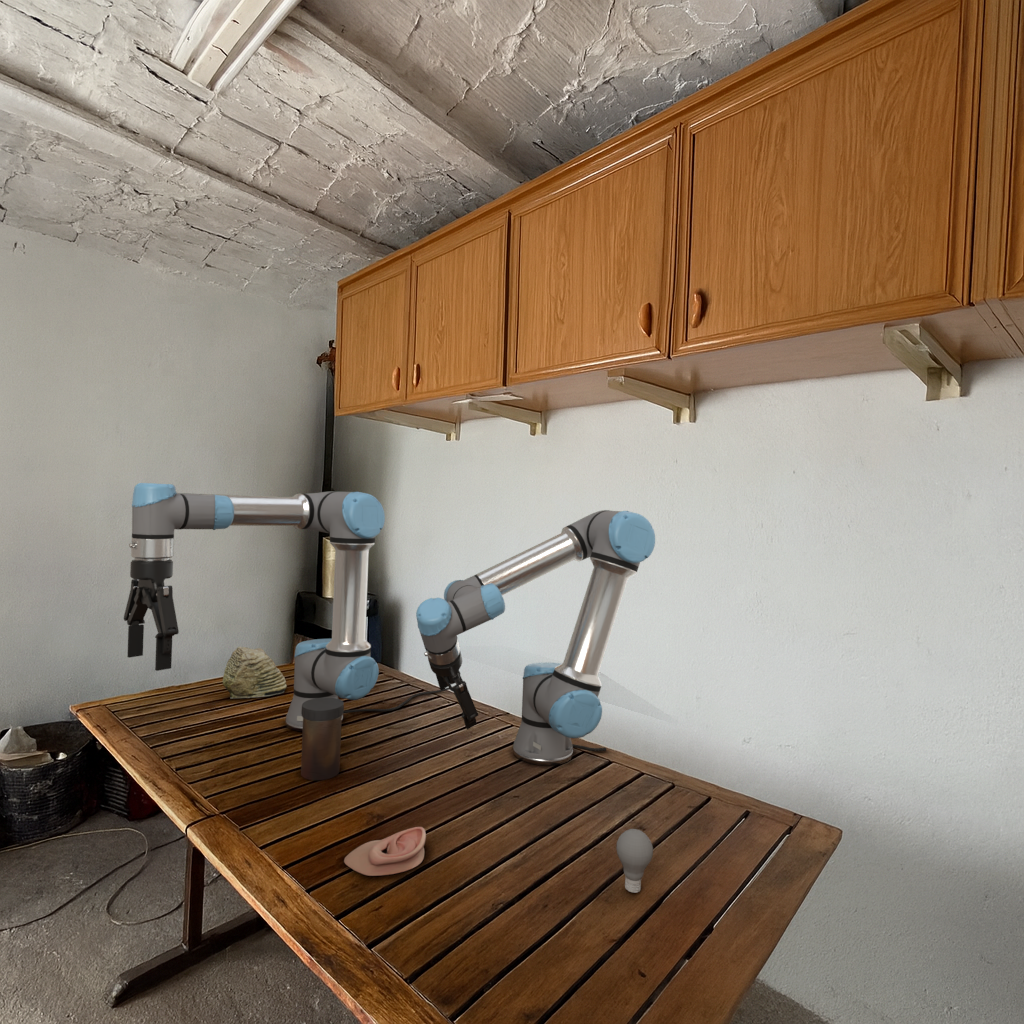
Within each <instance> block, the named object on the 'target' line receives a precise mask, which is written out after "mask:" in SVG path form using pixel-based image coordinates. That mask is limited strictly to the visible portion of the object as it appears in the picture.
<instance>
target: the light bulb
mask: <svg viewBox="0 0 1024 1024" xmlns="http://www.w3.org/2000/svg"><path fill="white" fill-rule="evenodd" d="M615 849H616V854H617V857H618V859H619V861H620V863H621V865H622V867H623V873H624V874H623V875H624V876H625V878H624V888H625V890H627V891H628V892H630V893H634V894H635V893H639V892H640V891H641V889H642V887H641V886H642V879H643V877H644V875H645V871H646V868H647V867H648V866H649V864H650V863H651V861H652V859H653V855H654V847H653V843H652V841H651V838H649V836H648V835H647V834H646V833H645V832H643V831H642V830H641V829H636V828H629V829H627V830H625V831H623V832H622V833H621V834H620V835H619V837H618V839H617V841H616V847H615Z"/></svg>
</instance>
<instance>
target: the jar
mask: <svg viewBox="0 0 1024 1024" xmlns="http://www.w3.org/2000/svg"><path fill="white" fill-rule="evenodd" d="M341 720H342V716H340V717H338V718H336V719H332V720H326V721H313V720H307V719H305V718H303V732H301V734H302V735H301V737H302V738H301V739H302V740H301V760H300V761H301V763H300V776H301V777H302V778H303V779H306V780H309V781H325V780H330V779H332V778H334V777H336V776H337V775H339V773H340V769H341V744H342V723H341Z"/></svg>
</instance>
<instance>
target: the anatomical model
mask: <svg viewBox="0 0 1024 1024" xmlns="http://www.w3.org/2000/svg"><path fill="white" fill-rule="evenodd" d="M426 839H427V834H426V829H425V827H423V826H415V827H411V828H407V829H404V830H401V831H398V832H396V833H394V834H392V835H389V836H387V837H385V838H383V839H376V840H370V841H368V842H365V843H363V844H361V845H359V846H357V847H356V848H355V849H353V850H352V851H350V852H349V853H348V854H347V855H346V856H345V857H344V859H343V863H344V865H346V866H347V867H348V868H350V869H352V870H353V871H355V872H356V873H359V874H361V875H364V876H369V877H377V876H389V875H394V874H395V875H396V874H399V873H403V872H407V871H409V870H412V869H414V868H416V867H418V866H419V865H421V863H422V862H423V860H424V859H425V848H424V846H425V844H426Z"/></svg>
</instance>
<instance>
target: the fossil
mask: <svg viewBox="0 0 1024 1024" xmlns="http://www.w3.org/2000/svg"><path fill="white" fill-rule="evenodd" d="M222 676H223V677H222V685H223V687H224V688H225V690H226V691H228V693H229V698H230V699H250V698H264V697H271V696H275V695H281V694H284V693H285V691H286V689H287V687H288V686H287V680H286V678H285V676H284V674H283V673H282V672H281V669H279V668H278V667H277V665H276V663H275V662H274V660H273V659H272V658H271V657H270V656H269V655H268V654H267V653H266V652H265V650H264V649H263V648H260V647H258V648H251V647H247V646H246V647H245V646H238V647H237V648H236V649H235V650H233V651H232V653H231V656H230V657H229V659H228V660H227V663H226V666H225V668H224V671H223V675H222Z"/></svg>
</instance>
